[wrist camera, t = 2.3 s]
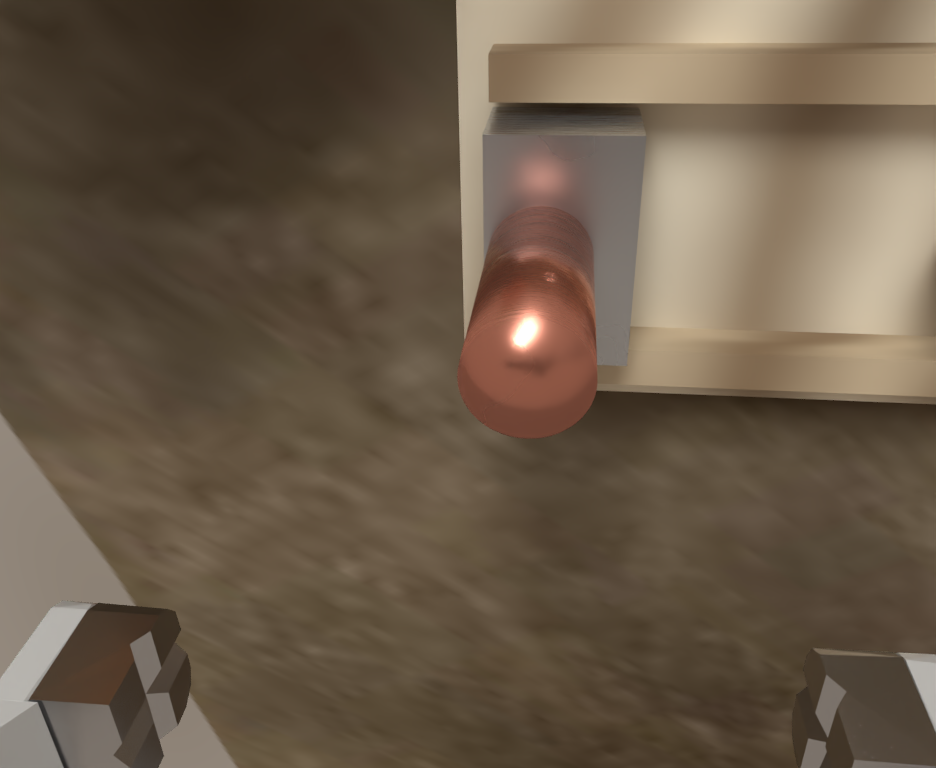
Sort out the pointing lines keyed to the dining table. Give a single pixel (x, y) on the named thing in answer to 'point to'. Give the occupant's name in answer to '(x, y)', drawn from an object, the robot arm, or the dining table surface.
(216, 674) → the dining table surface
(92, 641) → the robot arm
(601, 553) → the dining table surface
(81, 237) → the dining table surface
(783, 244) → the wooden rail tray
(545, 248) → the lever
